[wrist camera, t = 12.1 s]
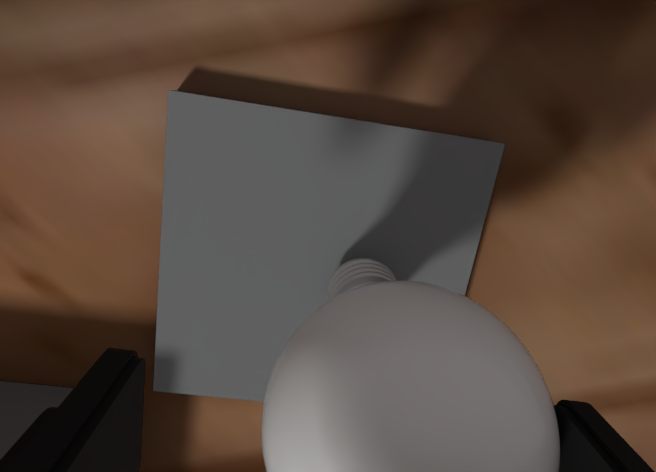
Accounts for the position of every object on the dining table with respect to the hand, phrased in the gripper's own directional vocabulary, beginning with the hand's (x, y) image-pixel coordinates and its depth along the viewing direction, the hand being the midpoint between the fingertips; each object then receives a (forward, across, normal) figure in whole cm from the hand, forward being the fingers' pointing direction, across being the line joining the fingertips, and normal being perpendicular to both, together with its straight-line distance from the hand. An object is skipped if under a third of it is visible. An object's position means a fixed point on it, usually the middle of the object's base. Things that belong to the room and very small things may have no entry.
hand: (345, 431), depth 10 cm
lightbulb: (+8, -1, 0) cm, 8 cm away
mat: (+9, +1, -1) cm, 9 cm away
